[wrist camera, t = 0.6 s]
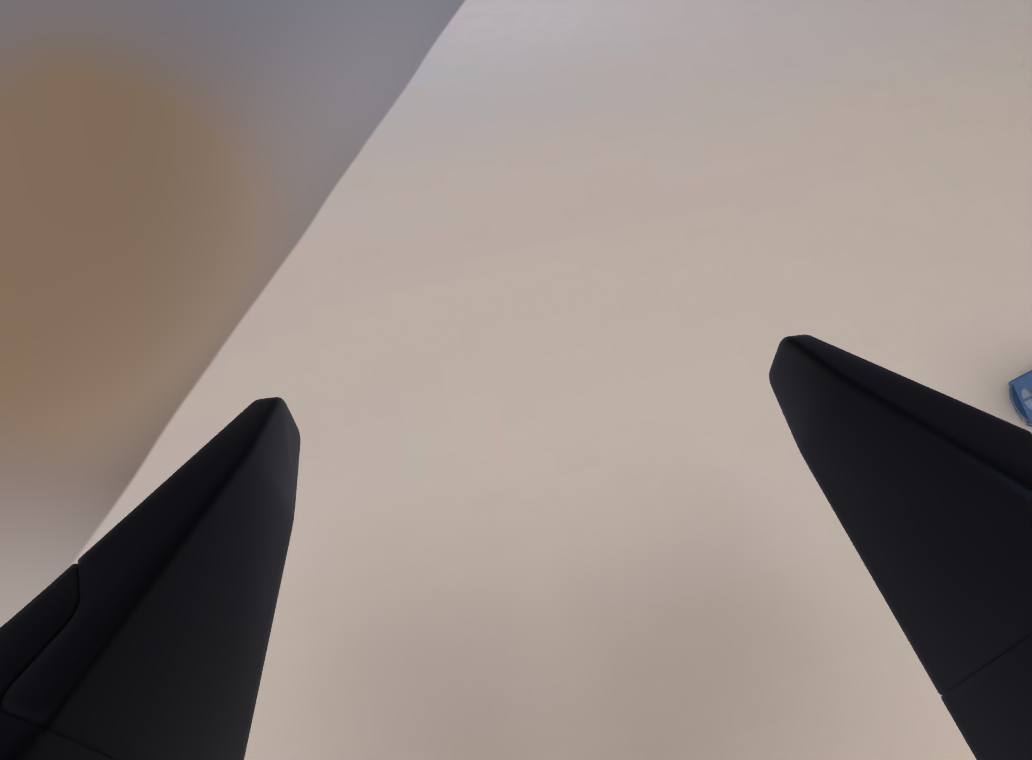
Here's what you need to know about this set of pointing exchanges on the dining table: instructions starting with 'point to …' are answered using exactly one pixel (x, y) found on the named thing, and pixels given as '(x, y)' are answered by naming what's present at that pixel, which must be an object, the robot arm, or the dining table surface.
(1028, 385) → the vaping device
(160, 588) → the robot arm
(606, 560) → the dining table surface
